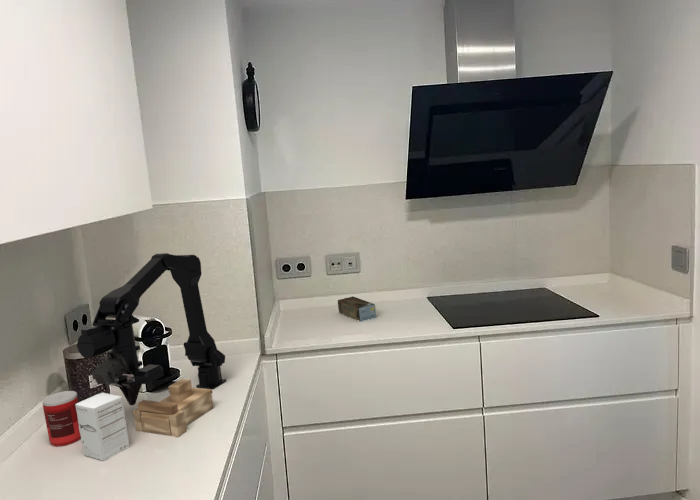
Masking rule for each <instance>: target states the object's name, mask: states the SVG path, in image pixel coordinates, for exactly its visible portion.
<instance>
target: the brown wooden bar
mask: <svg viewBox="0 0 700 500" xmlns="http://www.w3.org/2000/svg"><path fill="white" fill-rule="evenodd" d="M137 409H138V410H140V411H148V412H156V413H164V414H172V415H173V414H174V413H176V412H178V405H177V404H174V403H165V402H160V401H154V400H147V399H143V400H141V401H139V402H137Z"/></svg>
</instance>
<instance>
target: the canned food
mask: <svg viewBox="0 0 700 500" xmlns="http://www.w3.org/2000/svg"><path fill="white" fill-rule="evenodd" d="M79 402H80V401H79V397H78V393H77V392H76V391H75V390H65V391H60V392H55V393H53V394H50V395H48V396H46V397H44V399H42V408H43V415H44V419H45V424H46V429H47V435H48V441H49V443H50V445H51V446H53V447H65V446H69V445H71V444H74V443H76V442H78V441H79V440H81V435H80V429H79V423H78V417H77V411H76V405H75V404H77V403H79Z"/></svg>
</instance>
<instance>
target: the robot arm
mask: <svg viewBox="0 0 700 500" xmlns="http://www.w3.org/2000/svg"><path fill="white" fill-rule="evenodd" d="M166 271H169V272H170V274H171V277H172V279H173V281H174V282H175V283H176V284H177V285H178V287H179V289H180V294H181V299H182V303H183V310H184V313H185V317H186V318H185V319H186V324H187V329H188V333H189V335H188V337H187V341H185V342H183V348H184V355H185V356H184V357H187V359H188V361H190V364H191V365H192V367H197V371H198V373H197V378H198V382H199V383H198V384H196V386H195V388H201V389H212V390H213V389H216V388H217V387H218V386H221V385H222V384H223V383H225V382H227V379H226V378H223V377H222V368H221V366H223V364H225V363H226V355H225V354H224V353H223V352H221V351H220V350H219V349H218V348H217V344H216V342H215V339H214V338H213V336H212V335H211V334H210V333H209V331H208V329H207V324H206V318H205V314H204V309H203V305H202V304H203V303H202V299H201V292H200V287H199V282H200V279H201V277H202V263H201V259H200V258H199V256H198V255H195V254H170V253H167V252H166V253H165V252H164V253H163V252H162V253H161V252H160V253H155V254H153V255H152V256H151V258H150V260H149V261H148V262H147V263H145V264H144V265H143V266H142V268H141V269H139V270H138V271H137V272H136V273H135V274H134V275H133V276H132V277H131V278H130V279H129V280H128V281H127V282H126V283H125V284H124V285H122V286H120V287H118V288H115V289H113V290H111V291H110V292H109V293H107V294H106V295H104V296H103V297H102V298H101V299H100V301H99V307H98V309H97V311H96V314H95V317H94V319H93V321H92V323H91V327H85V328H83V329H81V330H80V333H81V334H80V335H79V336H78V339H77V343H76V347H77V351H78V352H79V354H80V355H81V356H82V357H83V358H84V359H87V360H88V359H91V358H95V357H97V356H100V355H102V354H105V353H106V352H107V354H106V360H104V361H103V362H101V363H99V364H98V365H97V366H94V367H93V369H92V370H91V375H92V379H93V380H95V382H96V384H97V385H105V386H110V385H115V386H116V387H118V388H119V389H120V390H121V392H122V395H123V396H124V398H125V399H126V401H127V403H128V404H129V406H135V405H136V402H137V399H138V397H139V396H138V395H139V393H140V390H141V387H142V385H148V384H150V383H152V382H154V381H156V380H157V379H160V378H162V377H164V376H165V374H164V368H163V366H161V365H160V364H147V365H145V366H143V361H142V360H138V359H139V358H138V351H139V350H141V347H140V345H139V344H137V345H136V340H135V332H134V327H133V325H134V324H137V323H139V322H140V319H139V318H137V317H135V316H134V315H133V314H134V312H135V310H137V308H138V306H139V305H140V299H141V297H142V296H143V294H145V293H146V292H147V290H148V289H149V288H151V286H152V285H153V284H154V283H155V282H156V281H157V280H158V279H159V278H160V277H161V276H162V275H163V274H164V273H165V272H166ZM141 366H143V367H141Z"/></svg>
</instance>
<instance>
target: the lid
mask: <svg viewBox="0 0 700 500" xmlns="http://www.w3.org/2000/svg"><path fill="white" fill-rule="evenodd" d="M168 391H169V392H168V393H169V396H167V397H165V398H164V399H161V400H160V401H159V402H165V403H174V404H177V405H178V410H180V411H184V410H186V409H188V408H189V407H191V406H192V405H194V404H196V403H197V402H199V401H201V400H202V399H204V398H205V397H207V396H209V395H210V394H212V395H213V389H208V388H198V387H193V386H192V380H191V379H184V378H183V379H182V378H181V379H180V380H177V381H176V382H174V383H172V384H170V385H169V386H168ZM141 415H142V416H146V417H154V418H161V419H169V415H171V414H164V413H156V412H148V411H142V412H141Z"/></svg>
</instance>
